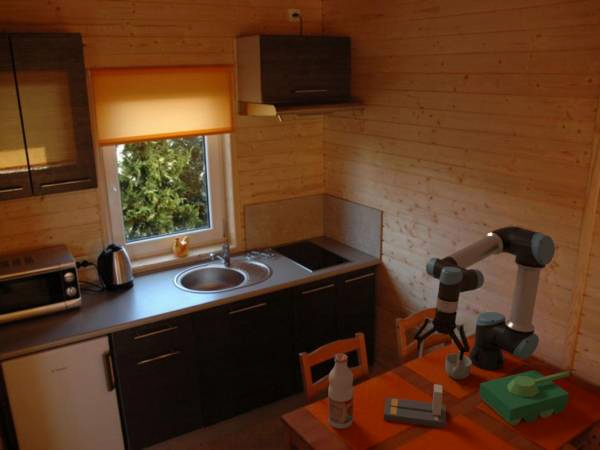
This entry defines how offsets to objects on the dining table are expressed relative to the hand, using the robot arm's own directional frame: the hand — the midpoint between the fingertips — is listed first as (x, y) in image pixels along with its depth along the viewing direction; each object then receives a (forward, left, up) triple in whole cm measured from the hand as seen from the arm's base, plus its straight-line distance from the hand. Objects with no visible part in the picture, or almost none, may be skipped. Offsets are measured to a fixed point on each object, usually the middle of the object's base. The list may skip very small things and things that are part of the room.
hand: (438, 362), depth 200 cm
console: (+7, +1, -24) cm, 25 cm away
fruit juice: (+35, +11, -24) cm, 44 cm away
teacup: (-9, -29, -24) cm, 39 cm away
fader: (-1, +1, -21) cm, 21 cm away
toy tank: (-37, -16, -24) cm, 47 cm away
